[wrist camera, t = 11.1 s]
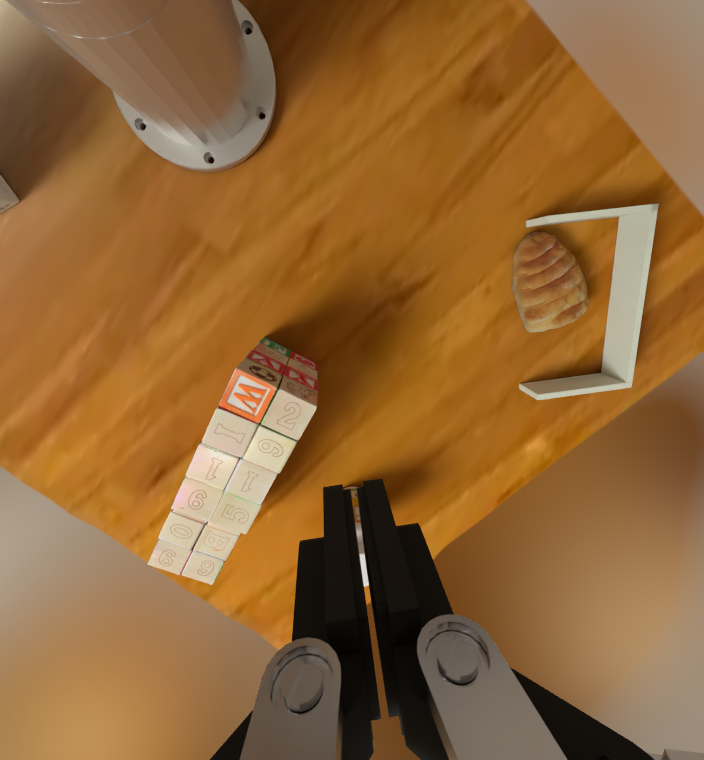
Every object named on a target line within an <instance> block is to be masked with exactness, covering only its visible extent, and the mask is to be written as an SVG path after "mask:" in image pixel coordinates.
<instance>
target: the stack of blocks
mask: <svg viewBox="0 0 704 760" xmlns="http://www.w3.org/2000/svg"><path fill="white" fill-rule="evenodd" d="M317 393H318V364H317V363H315V362H313V361H311V360H309V359H307V358H305V357H303V356H301V355H299V354H298V353H295V352H294V351H291V350H289V349H287V348H285V347H283V346H281V345H279V344H277V343H275V342H273V341H271V340H269V339H267V338H266V337H263V339H261V340H260V341H259V342H258V344H257V346H256V347H255V349H254V350H252V351H251V352H250V353H249V354H248V355H247V356H246V358H245V359H244V360H243V361H242V362H241V363H240V364H239V365H238V366H237V368H236V369H235V371H234V373H233V375H232V377H231V380H230V382H229V384H228V386H227V388H226V390H225V392H224V395H223V397H222V399H221V401H220V403H219V405H218V406H217V408H216V410H215V412H214V414H213V417H212V419H211V421H210V424H209V426H208V428H207V430H206V433H205V435H204V437H203V439H202V441H201V442H200V444H199V445H198V447H197V449H196V452H195V454H194V456H193V459H192V461H191V463H190V465H189V468H188V470H187V472H186V476H185V478H184V480H183V482H182V484H181V487H180V489H179V491H178V493H177V496H176V498H175V500H174V502H173V505H172V507H171V509H172V510H171V512H170V514H169V516H168V518H167V520H166V522H165V524H164V526H163V528H162V530H161V532H160V535H159V540H158V542H157V544H156V546H155V549H154V551H153V553H152V555H151V557H150V559H149V561H148V563H147V564H148V565H151V566H154V567H157V568H160V569H163V570H166V571H169V572H172V573H175V574H178V575H179V574H182V575H183V576H186V577H189V578H192V579H195V580H199V581H202V582H205V583H208V584H211V585H212V584H213V583H214V581H215V579H216V577H217V575H218V574H219V572H220V570H221V568H222V566H223V564H224V562H225V560H226V559H227V558H228V556H229V554H230V552H231V550H232V548H233V547H234V545H235V543H236V541H237V539H238V537H239V535H240V534H241V533H242V534H247V532H248V531H249V529H250V527H251V525H252V523H253V521H254V519H255V517H256V515H257V514H258V512H259V510H260V508H261V506H262V502H263V500H264V499H265V497H266V495H267V493H268V491H269V489H270V487H271V486H272V484H273V482H274V480H275V478H276V476H277V474H279V473H280V472H281V471H282V469H283V467H284V465H285V463H286V462H287V460H288V458H289V456H290V454H291V452H292V451H293V449H294V447H295V445H296V443H297V440H299V439H300V438H301V436H302V434H303V432H304V430H305V429H306V427H307V425H308V423H309V422H310V420H311V418H312V416H313V415H314V413H315V411H316V409H317V405H318V403H317V400H318V399H317Z"/></svg>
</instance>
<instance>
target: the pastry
mask: <svg viewBox="0 0 704 760" xmlns="http://www.w3.org/2000/svg"><path fill="white" fill-rule="evenodd" d="M513 261H514V264H513V268H514V270H513V282H512V290H513V292H514V296H515V300H516V302H517V306H518V310H519V314H520V316H521V319H522V321H523V323H524V326H525V329H526V330H527V331H528V332H540V331H541V332H542V331H546V330H548V329H555V328H559V327H562V326H564V325H567V324H569V323H571V322H573V321H575V320H577V319H578V318H579V317H580V316H581V315H583V314H584V313H585V312H586V311H587V309H588V306H589V301H588V299H587V286H586V279H585V278H584V276H583V274H582V271H581V268H580V265H579V264H578V262H577V261H576V259H575V256H574V255H572V254H571V252H570V251H569V249H568V248H566V247H564V245H563V244H562V243H561V241H559V240H558V238H557V237H556V236H555V235H553V234H550V233H545V232H533V233H531V234H529V235H527V236H526V237H524V238H523V240H522V241H521V242H520V244H519V245H518V247H517V248H516V250H515V253H514V255H513Z"/></svg>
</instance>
